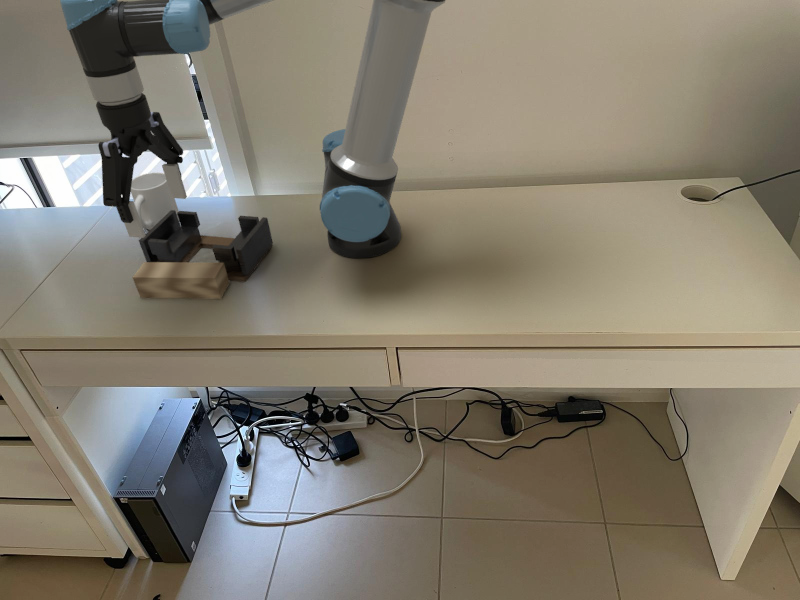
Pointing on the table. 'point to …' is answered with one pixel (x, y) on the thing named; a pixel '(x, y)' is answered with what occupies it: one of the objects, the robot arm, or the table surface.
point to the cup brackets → (208, 243)
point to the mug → (152, 198)
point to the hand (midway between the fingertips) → (159, 216)
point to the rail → (181, 280)
